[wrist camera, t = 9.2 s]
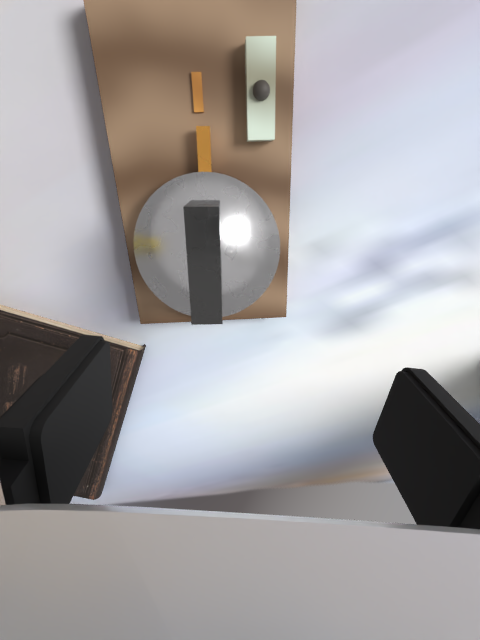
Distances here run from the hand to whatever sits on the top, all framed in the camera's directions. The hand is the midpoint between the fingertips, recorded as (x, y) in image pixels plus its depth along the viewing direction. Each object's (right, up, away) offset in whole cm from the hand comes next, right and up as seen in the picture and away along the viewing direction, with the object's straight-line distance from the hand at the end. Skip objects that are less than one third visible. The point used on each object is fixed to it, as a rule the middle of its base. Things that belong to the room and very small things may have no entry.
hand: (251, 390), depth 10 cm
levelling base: (-3, +14, +17) cm, 22 cm away
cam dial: (-3, +10, +17) cm, 20 cm away
